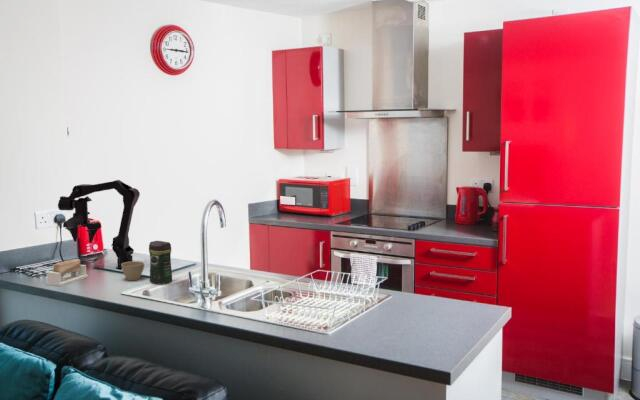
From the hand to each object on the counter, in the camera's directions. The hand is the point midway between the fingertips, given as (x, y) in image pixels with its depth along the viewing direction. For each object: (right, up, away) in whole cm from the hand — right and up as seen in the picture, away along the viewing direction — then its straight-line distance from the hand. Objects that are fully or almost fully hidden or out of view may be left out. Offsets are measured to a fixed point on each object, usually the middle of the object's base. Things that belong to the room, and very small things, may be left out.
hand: (82, 242), depth 296 cm
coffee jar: (+45, -16, -26) cm, 54 cm away
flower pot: (+31, -16, -21) cm, 40 cm away
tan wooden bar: (+3, -12, -24) cm, 27 cm away
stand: (+3, -16, -24) cm, 29 cm away
